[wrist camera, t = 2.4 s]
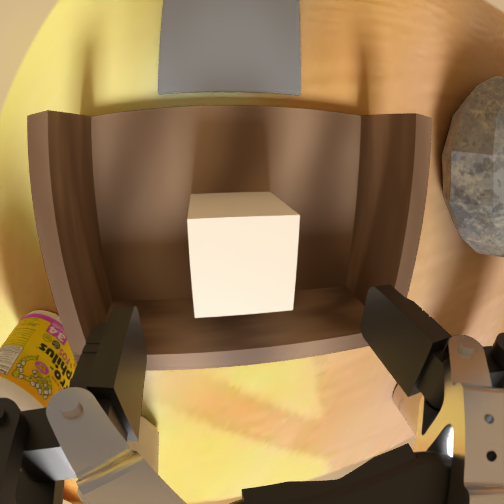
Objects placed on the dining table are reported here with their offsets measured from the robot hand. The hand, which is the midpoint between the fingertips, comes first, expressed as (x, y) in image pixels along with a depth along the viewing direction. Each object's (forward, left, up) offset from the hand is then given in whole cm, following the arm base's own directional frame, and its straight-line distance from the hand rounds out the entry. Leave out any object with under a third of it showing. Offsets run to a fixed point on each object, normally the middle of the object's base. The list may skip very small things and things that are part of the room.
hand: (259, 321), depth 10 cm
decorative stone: (-26, -7, -12) cm, 30 cm away
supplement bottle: (+16, +9, -12) cm, 22 cm away
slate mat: (0, -13, -11) cm, 17 cm away
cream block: (0, 0, -11) cm, 11 cm away
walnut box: (0, -1, -11) cm, 11 cm away
